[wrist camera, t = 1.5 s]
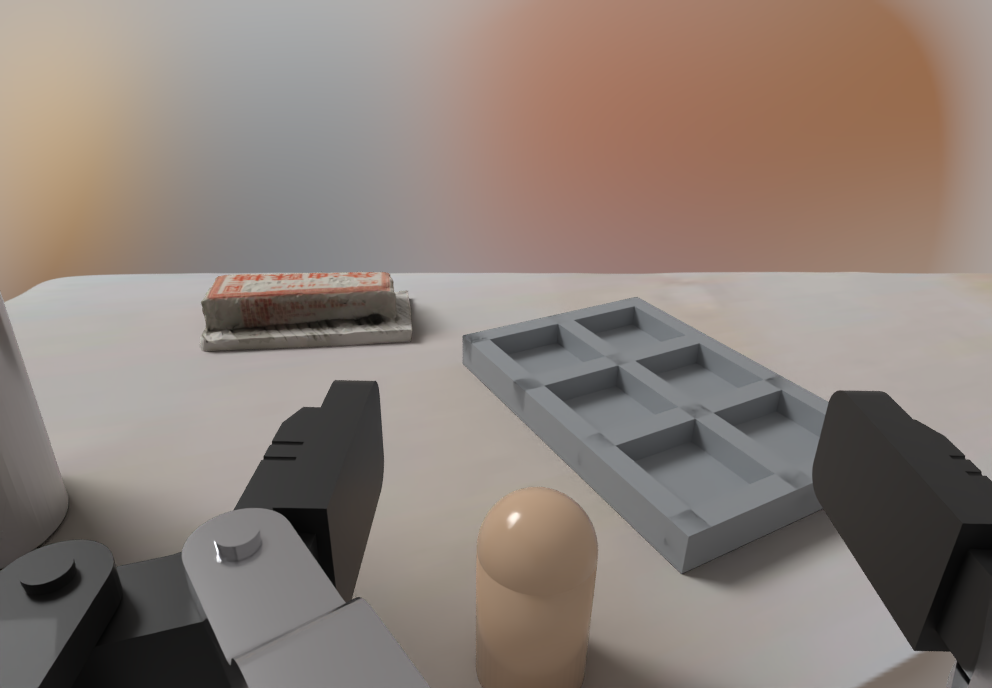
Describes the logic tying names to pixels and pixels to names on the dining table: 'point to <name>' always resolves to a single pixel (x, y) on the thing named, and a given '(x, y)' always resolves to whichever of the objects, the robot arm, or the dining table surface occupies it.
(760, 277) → the dining table surface
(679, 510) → the grey compartment tray
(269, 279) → the packaged product
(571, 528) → the tan domed cylinder
